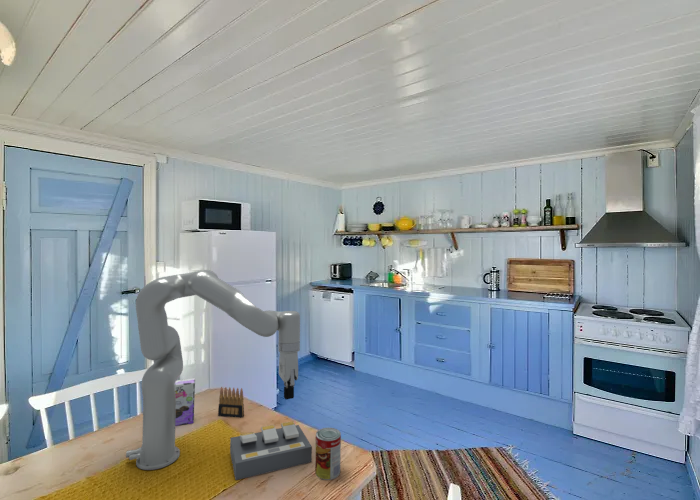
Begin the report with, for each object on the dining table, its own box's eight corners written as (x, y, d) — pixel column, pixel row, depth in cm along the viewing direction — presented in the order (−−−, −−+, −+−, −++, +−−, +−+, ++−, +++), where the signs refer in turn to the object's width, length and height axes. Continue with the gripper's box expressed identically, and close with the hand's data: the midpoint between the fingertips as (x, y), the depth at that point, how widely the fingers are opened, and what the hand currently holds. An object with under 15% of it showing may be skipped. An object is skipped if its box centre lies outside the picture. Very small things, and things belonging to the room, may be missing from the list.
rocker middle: (264, 443, 115) (265, 440, 114) (261, 430, 121) (261, 426, 121) (278, 440, 116) (278, 437, 116) (273, 427, 123) (274, 424, 123)
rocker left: (242, 443, 112) (242, 438, 112) (240, 438, 118) (240, 434, 118) (256, 440, 114) (256, 436, 114) (253, 436, 120) (253, 432, 120)
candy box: (154, 429, 134) (155, 386, 134) (156, 422, 140) (157, 381, 140) (193, 423, 139) (194, 382, 140) (194, 417, 145) (195, 377, 145)
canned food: (323, 461, 115) (324, 425, 115) (344, 469, 111) (345, 431, 112) (310, 475, 108) (310, 436, 108) (332, 483, 104) (332, 442, 105)
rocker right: (285, 439, 118) (286, 435, 117) (281, 426, 124) (281, 423, 124) (298, 436, 119) (298, 433, 119) (293, 424, 126) (293, 420, 125)
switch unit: (235, 480, 105) (235, 459, 105) (230, 452, 120) (230, 433, 120) (311, 461, 115) (311, 442, 115) (298, 438, 129) (298, 421, 130)
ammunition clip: (244, 416, 147) (244, 387, 147) (242, 418, 145) (242, 389, 145) (220, 414, 148) (220, 385, 148) (217, 416, 146) (218, 387, 146)
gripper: (274, 342, 129) (273, 392, 129) (283, 353, 116) (283, 408, 116) (293, 340, 133) (293, 389, 132) (305, 350, 119) (305, 404, 119)
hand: (288, 397), depth 124 cm, fingers closed
